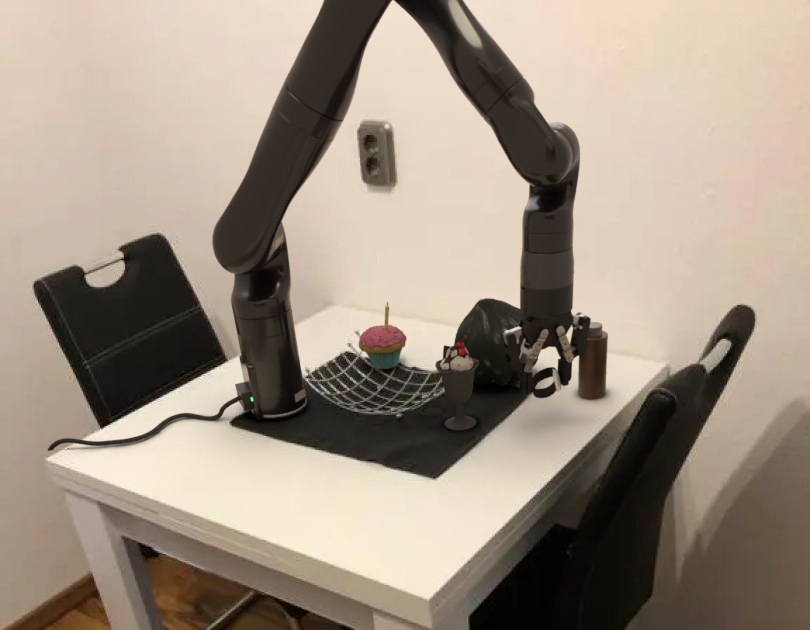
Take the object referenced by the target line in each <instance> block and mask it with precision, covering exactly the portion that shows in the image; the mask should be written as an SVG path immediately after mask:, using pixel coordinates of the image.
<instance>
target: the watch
mask: <svg viewBox="0 0 810 630" xmlns="http://www.w3.org/2000/svg"><path fill="white" fill-rule="evenodd" d="M549 378H552V380H553V381H552V383H551V384H550V385H548V386H547V387H542V388H537V385H538V384H539V383H540V382H541V381H544V380H545V379H549ZM532 389H533V391H532V395H533V397H535V398H537V399H546V398H550V397H551V396H553V395H554V394H555V393H556V392H560V391H561V390H562V385H561V381H560V376H559V373H558V369H557V368H556V367H553V366H549V367H545V368H541V370H538V371H537V372H536V373H535V374H533V387H532Z"/></svg>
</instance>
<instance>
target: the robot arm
mask: <svg viewBox="0 0 810 630" xmlns="http://www.w3.org/2000/svg"><path fill="white" fill-rule="evenodd" d="M393 1H394V2H395V3H396V4H397V5H398V6H399V7H400V8H401V9H402V10H404V12H406V13H407V14H408V15H409V16H410V17H411V18H412V19H413V20H414V21H415V22H416V23H417V25H418V26H419V27H420V28H421V29H422V31H423V32H424V34H426V36H427V38H428V39H429V40H430V42H431V44H432V45H433V46H434V48H435V50H436V52H437V53H438V55H439V57H440V58H441V60H442V62H443V64H444V66H445V68H446V69H447V71H448V73H449V74H450V76H451V79H453V81H454V83H455V84H456V86H457V87H458V89H459V90H460V91H461V93H462V94H463V96H464V97H465V98H466V100H467V101H468V102H469V103H470V104H471V105H472V107H473V108H474V109H475V111H476V112H477V113H478V114H479V116H480V117H481V118H483V120H484V122H485V123H486V124H487V125H488V126H489V128H491V130H492V131H493V134H494V135H495V138H496V139H497V142H498V144H499V145H500V147H501V149H502V151H503V153H504V154H505V156H506V158H507V160H508V162H509V163H510V164H511V166H512V168H513V169H514V170H515V172H516V173H517V174H518V175H519V177H520V178H521V179H522V180H523V181H525V182H526V183H527V184H529V185H528V186H529V187H528V199H527V202H526V205H525V206H524V209H523V213H522V220H521V255H520V262H519V263H520V264H519V309H520V311H521V320H520V322H519V325H518V327H515V328H513V329H511V330H507V329H503V330H502V331H501V338H502V344H503V349H504V354H505V360H506V364H507V365H508V366H510V367H511V368H512V369H513V370H515V371H519V381H518V388H519V389H520V390H521V391H522V392H523V393H524V394H525V395H527V396H529V395H533V392H532V391H533V389H532V387H533V376H534V373H533V372H534V371H533V370H532V369H533V367H534V366H533V364H534V361H535V359H536V358H538V359H539V356H540V353H541V352H542V350H543V351H544V350H546V349H547V348H555V349H556V352H557V355H558V356H559V358H558V359H557V371H558V373H559V376H560V381H561V386H563V387H565V386H568V385H569V384H570V381H571V380H572V376H573V375H572V373H573V372H572V370H573V361H574V359H576V358H577V357H579V356H582V355H583V354H584V352H585V347H586V342H587V337H588V332H589V327H590V322H592V321H591V320H592V319H591V317H589V316H587V315H586V314H584V313H582V312H580V311H578V312H577V313H576V314H573V312H572V310H573V305H574V282H575V281H574V279H575V278H574V277H575V255H574V227H575V226H574V225H575V224H574V223H575V222H574V209H575V207H574V206H575V200H576V195H577V190H578V189H577V188H578V181H579V176H580V166H581V147H580V146H581V145H580V141H579V139H578V136H577V134H576V132H575V131H574V130H573V128H571V127H570V126H569V125H568V124H565V123H564V122H557V121H553V122H548V121H547V120H546V118H545V117H544V115H543V114H542V112H541V111H540V109H539V108H538V106H537V105H536V103H535V99H536V98H535V97H536V96H535V92H534V90H533V87H532V86H531V85H530V83H529V82H528V80H527V79H526V78H525V77H524V75H523V74H522V73H521V71H520V70H519V68H517V66H516V65H515V64H514V62H513V61H512V60H511V59H510V57H509V56H508V55H507V53H505V51H504V50H503V49H502V47H501V46H500V45H499V44H498V43H497V41H496V40H495V39H494V38H493V37H492V36H491V34H490V33H489V32H488V30H487V28H486V27H484V26H483V24H482V23H481V21H479V19H478V18H477V17H476V15H475V14H474V13H473V11H472V10H471V9H470V8H469V6H468V5H467V3H466V2H465V0H323V1H322V4H321V6H320V8H319V11H318V13H317V15H316V17H315V19H314V21H313V23H312V25H311V27H310V29H309V30H308V33H307V34H306V37H305V39H304V40H303V42H302V45H301V47H300V48H299V51H298V53H297V55H296V58H295V60H294V62H293V64H292V66H291V67H290V70H289V71H288V73H287V75H286V77H285V78H284V81H283V83H282V85H281V87H280V89H279V92H278V94H277V96H276V99H275V100H274V103H273V105H272V107H271V110H270V112H269V115H268V117H267V119H266V122H265V124H264V126H263V129H262V131H261V134H260V137H259V139H258V141H257V144H256V146H255V149H254V152H253V155H252V158H251V159H250V163H249V165H248V168H247V171H246V172H245V174H244V176H243V179H242V180H241V182H240V184H239V186H238V187H237V189H236V191H235V193H234V194H233V196H232V198H231V199H230V201H229V203H228V205H226V207H225V209H224V211H223V212H222V214H221V215H220V217H219V218H218V220H217V221H216V223H215V225H214V228H213V231H212V237H211V240H212V241H211V242H212V243H211V245H212V250H213V254H214V257H215V259H216V260H217V262H218V263H219V265H220V266H221V267H222V268H223V269H224V270H225V271H226V272H228V273H230V274H233V277H234V278H233V287H232V291H231V295H230V304H231V309H232V314H233V320H234V324H235V329H236V335H237V340H238V346H239V350H240V355H239V356H238V357H239V363H240V367H241V368H240V369H241V372H242V378H243V382H238V383H235V384H234V385H235V390H236V395H237V396H235V397H234V398H231V399H230V400H228V401H226V402H225V403H224V404H223V405H221V407H220V409H219V410H218V413H217V414H215V415H209V416H208V415H202V414H197V413H192V412H181V413H177V414H173V415H171V416H169V417H167V418H165V419H164V420H162V421H161V422H160V423H158V424H157V425H156V426H155V427H153V428H152V429H151V430H149V431H147V432H145V433H143V434H139V435H137V436H132V437H127V438H121V439H109V440H98V441H97V440H96V441H95V440H85V439H79V438H72V437H65V438H59V439H57V440H55V441H54V442H52V443H51V444H50V445H49V446H48V448H47V452H48V451H49V452H50V451H53V450H55V449H56V448H57V447H58V446H60V445H63V444H77V445H84V446H90V447H104V446H115V445H124V444H129V443H135V442H139V441H143V440H145V439H147V438H149V437H151V436H153V435H154V434H156V433H157V432H159V431H160V430H161V429H163V428H164V427H165V426H166V425H167V424H169V423H171V422H173V421H176V420H178V419H183V418H189V419H190V418H191V419H195V420H200V421H209V422H210V421H217V420H219V419H221V418H222V416H223V415H224V413H225V410H227V409H228V408H229V407H231V406H232V405H234V404H236V403H239V404H240V406H241V407H242V409H243V411H244V412H248V411H251V414H252V415H253V416H254V418H255V420H256V421H257V422H260V421H278V420H284V419H288V418H292V417H295V416H297V415H299V414H301V413H302V412H303V411H305V410H306V409H307V407H308V400H307V399H308V398H307V394H306V388H305V385H304V378H303V371H302V366H301V359H300V354H299V347H298V340H297V334H296V328H295V321H294V320H295V319H294V315H293V314H294V313H293V309H292V301H291V289H292V275H291V266H290V257H289V256H290V255H289V249H288V241H287V236H286V230H285V227H284V224H283V220H284V217H285V216H286V213H287V211H288V209H289V207H290V205H291V203H292V202H293V200H294V198H295V197H296V195H298V192H299V191H300V190H301V189H302V187H303V186H304V184H305V183H306V182H307V180H309V178H310V177H311V175H313V173H314V171H315V170H316V169H317V167H318V165H319V164H320V163H321V161H322V160H323V158H324V157H325V155H326V153H327V152H328V150H329V148H330V147H331V146H332V143H333V142H334V141H335V139H336V136H337V134H338V132H339V130H340V128H341V127H342V124H343V123H344V121H345V119H346V116H347V115H348V112H349V110H350V108H351V105H352V103H353V99H354V96H355V92H356V89H357V85H358V81H359V75H360V71H361V67H362V63H363V59H364V55H365V52H366V49H367V46H368V45H369V41H370V39H371V38H372V35H373V34H374V32H375V30H376V28H377V26H378V25H379V23H380V21H381V20H382V18H383V16H384V14H385V13H386V11H387V9H388V8H389V6H390V5H391V3H392V2H393ZM571 327H572V332H571V336H570V341H569V339H568V336H567V334H568V333H569V330H570V329H571ZM521 334H522V336H523V337H524V340H523V343H522V346H521V353H520V356H519V353H518V347H517V344H518V343H519V337H520V335H521ZM531 346H532V347H533V348H532V349H531ZM532 366H533V367H532Z"/></svg>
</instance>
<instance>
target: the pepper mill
mask: <svg viewBox="0 0 810 630" xmlns="http://www.w3.org/2000/svg"><path fill="white" fill-rule="evenodd" d="M608 339H609V333H608V332H606V331H605V330H603V323H602V322H599V321H591V322H590V327H589V332H588V337H587V342H586V347H585V352H584V354H583V355H582V356H578V375H577V395H578V396H579V397H581V398H583V399H589V400H591V399H593V400H594V399H600V398H602V397H604V396H605V395H606V391H607V390H606V388H607V367H608V365H607V364H608V342H609V340H608Z"/></svg>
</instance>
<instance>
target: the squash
mask: <svg viewBox="0 0 810 630" xmlns="http://www.w3.org/2000/svg"><path fill="white" fill-rule="evenodd" d="M520 320H521V311H520V307H517V306H514V305H513V304H511V303H508V302H506V301H503V300H500V299H495V298H486V297H485V298H481V299H479V300H478V301H477V302H476V303H475V304H474V306H472V308H471V310H470V311H469V312H468V314H467V315H466V316H465V317H464V318H463V320H462V321H461V322H460V324H459V326H458V328H457V331H456V333H455V337H454V343H453V346H454V345H457V343H458V342H460V341H461V339H462V338H463V337H464V335H466V336H467V338H466V339H465V337H464V338H463V339H465V340H463V339H462V340H463V343H464V347H465V348H466V349H467V351H468V353H469V355H470V357H472V358H474V359H476V360H478V361H479V362H480V364H479V365H478V366H477V367H476V369H475V372H474V380H473V382H475V383H476V384H478V385H483V386H484V385H489V384H491V383H494V384H495V385H497V386H502V387H504V386H506V385H508V384H509V382H510V381H511V382H514V383H519V371H515V370H513V369H512V368H511V367H510V366H508V365H507V364H506V360H505V354H504V349H503V344H502V338H501V331H502V330H503V329H507V330H511V329H513V328H515V327H518V325H519V322H520ZM523 340H524V337H523V336H522V334H521V335H520V337H519V343H518V344H517V347H518V353H519V356H520V353H521V346H522V343H523ZM461 342H462V341H461ZM532 348H533V347H532V346H531V349H532ZM538 360H539V357H538V358H536V359H535V361H534V364H533V366H532V368H534V367H535V366H536V364H537V362H538Z"/></svg>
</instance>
